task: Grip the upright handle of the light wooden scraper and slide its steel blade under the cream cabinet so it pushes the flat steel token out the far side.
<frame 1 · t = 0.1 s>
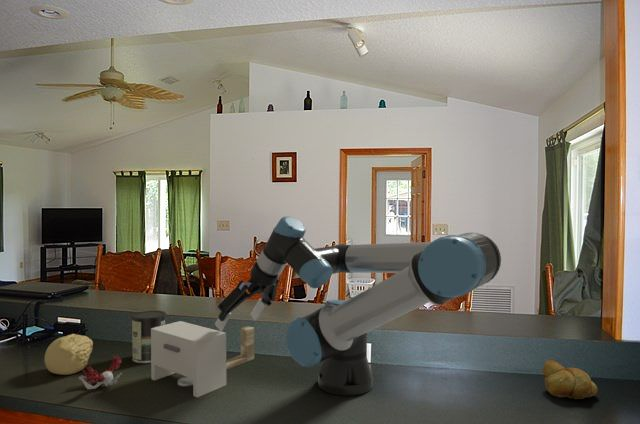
hand: (236, 322, 135), 15 cm above the worktop, tool tilted 35°, fingers open, 13 cm apart
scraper: (247, 359, 149), on the worktop
sculpture: (68, 371, 139), on the worktop
cabinet: (188, 382, 131), on the worktop
steel token: (186, 383, 130), on the worktop
bread roll: (570, 396, 123), on the worktop
figurine: (100, 386, 128), on the worktop
coffee can: (149, 358, 150), on the worktop
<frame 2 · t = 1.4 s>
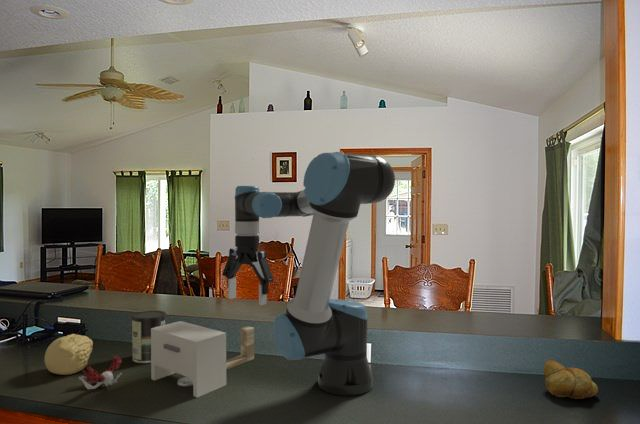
hand: (247, 301, 149), 18 cm above the worktop, tool pointing down, fingers open, 13 cm apart
nothing on the worktop moved.
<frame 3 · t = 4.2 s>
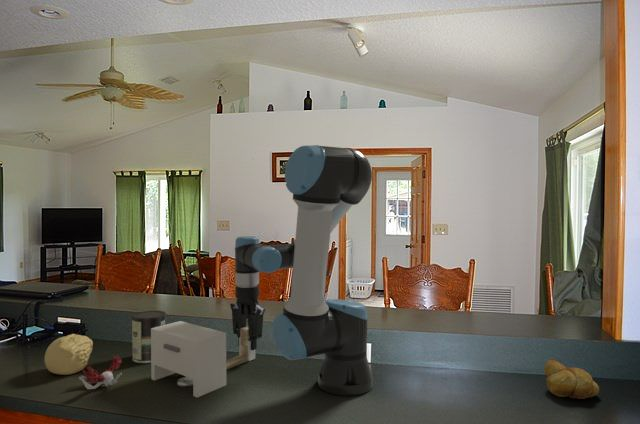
hand: (247, 358, 149), 0 cm above the worktop, tool pointing down, fingers closed on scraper, 3 cm apart
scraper: (247, 359, 149), on the worktop, touching gripper
everything else where it was.
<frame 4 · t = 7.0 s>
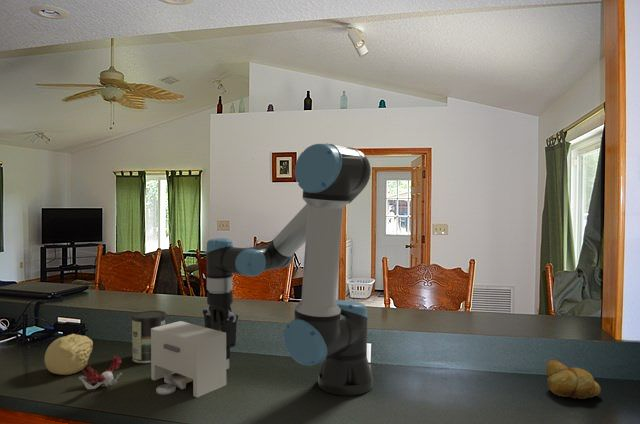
hand: (220, 367, 141), 0 cm above the worktop, tool pointing down, fingers closed on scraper, 3 cm apart
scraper: (220, 368, 141), on the worktop, touching gripper
steel token: (166, 391, 125), on the worktop
everything else where it was.
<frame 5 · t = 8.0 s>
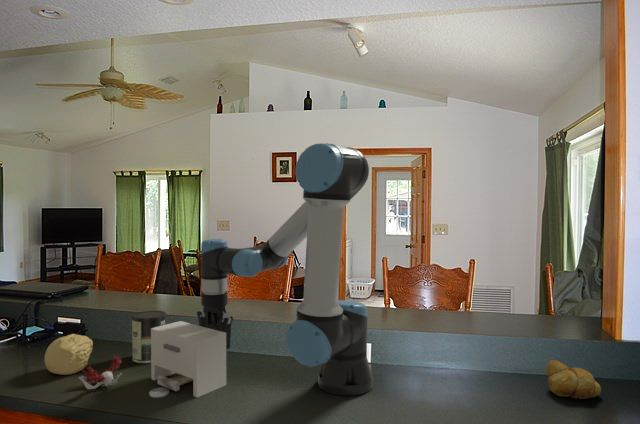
hand: (215, 370, 139), 0 cm above the worktop, tool pointing down, fingers closed on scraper, 3 cm apart
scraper: (214, 371, 139), on the worktop, touching gripper
steel token: (159, 395, 123), on the worktop
everything else where it was.
when the fingers open (0 cm above the worktop, at t = 8.7 s): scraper moves 2 cm, on the worktop.
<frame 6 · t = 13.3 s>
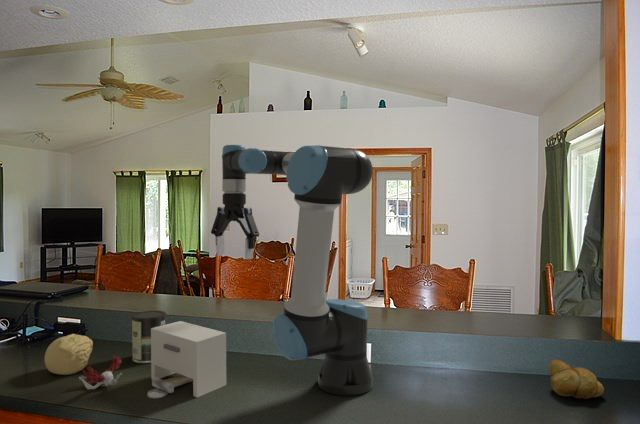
hand: (234, 257, 154), 32 cm above the worktop, tool pointing down, fingers open, 13 cm apart
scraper: (210, 372, 137), on the worktop
at the end: steel token inside the target area (4.1 cm from its centre), on the worktop; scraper moved 14.9 cm from its start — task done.
